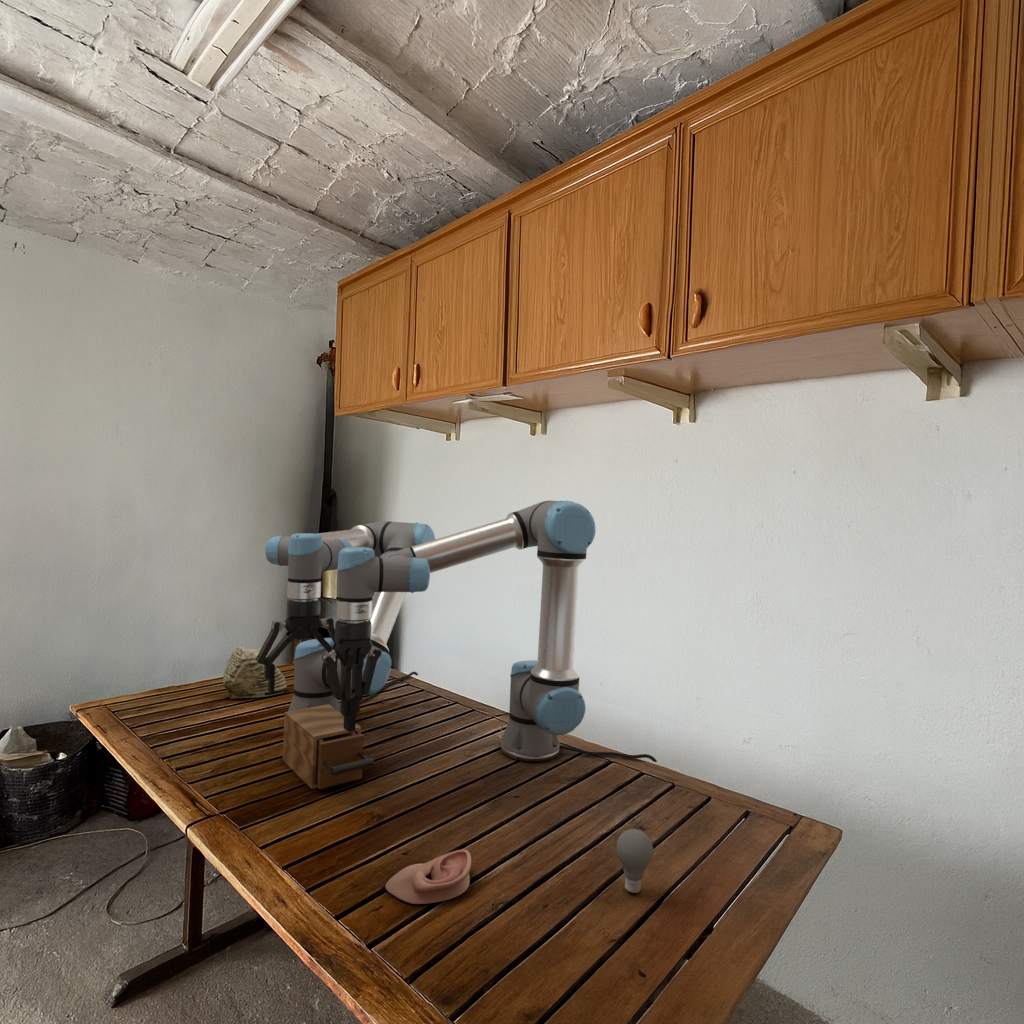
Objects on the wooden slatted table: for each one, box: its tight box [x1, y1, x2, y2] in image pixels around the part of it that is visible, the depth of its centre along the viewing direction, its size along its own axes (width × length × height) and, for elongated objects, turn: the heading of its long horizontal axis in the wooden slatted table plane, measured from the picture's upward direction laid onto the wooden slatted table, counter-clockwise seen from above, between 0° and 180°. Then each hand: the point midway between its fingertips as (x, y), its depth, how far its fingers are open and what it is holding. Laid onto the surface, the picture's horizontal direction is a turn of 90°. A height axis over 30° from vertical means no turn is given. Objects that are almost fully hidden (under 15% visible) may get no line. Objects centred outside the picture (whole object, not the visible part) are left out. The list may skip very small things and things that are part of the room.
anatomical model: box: [385, 849, 472, 905], centre depth 105 cm, size 13×4×12 cm
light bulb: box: [615, 828, 654, 894], centre depth 106 cm, size 6×6×10 cm
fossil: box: [222, 646, 288, 699], centre depth 198 cm, size 9×18×15 cm, turn 132°
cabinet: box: [282, 704, 362, 790], centre depth 147 cm, size 18×11×12 cm, turn 39°
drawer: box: [316, 732, 375, 790], centre depth 142 cm, size 23×10×10 cm, turn 39°
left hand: (301, 688), depth 150 cm, fingers open, 13 cm apart
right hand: (349, 729), depth 136 cm, fingers closed
